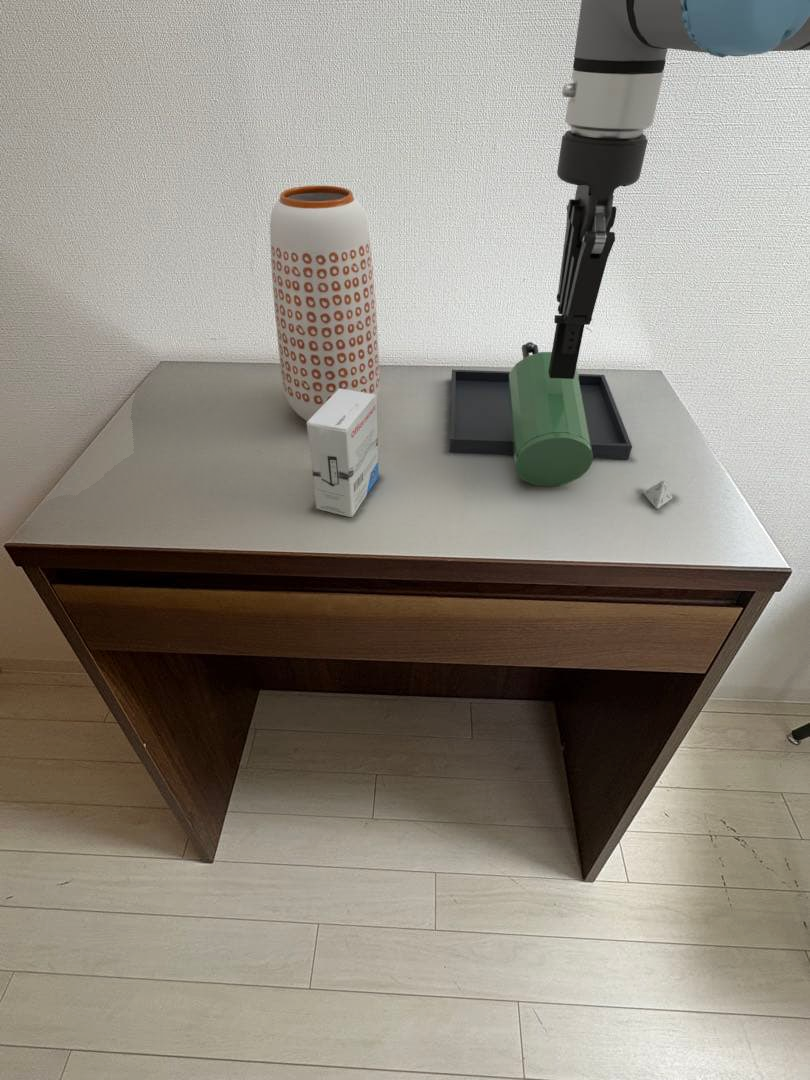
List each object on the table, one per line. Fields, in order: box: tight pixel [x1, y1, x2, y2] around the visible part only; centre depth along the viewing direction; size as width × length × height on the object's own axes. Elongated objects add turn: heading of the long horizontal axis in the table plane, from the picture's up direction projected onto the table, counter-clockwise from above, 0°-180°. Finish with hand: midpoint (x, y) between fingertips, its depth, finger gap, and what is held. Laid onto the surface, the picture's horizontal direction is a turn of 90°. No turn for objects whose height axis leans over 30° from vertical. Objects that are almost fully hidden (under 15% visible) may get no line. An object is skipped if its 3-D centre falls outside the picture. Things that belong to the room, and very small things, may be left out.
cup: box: [507, 351, 594, 487], centre depth 75 cm, size 9×9×14 cm
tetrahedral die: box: [642, 480, 673, 510], centre depth 72 cm, size 4×3×3 cm
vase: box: [269, 185, 381, 422], centre depth 79 cm, size 13×13×28 cm
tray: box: [449, 369, 633, 460], centre depth 88 cm, size 23×20×2 cm
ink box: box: [306, 388, 379, 518], centre depth 70 cm, size 9×5×12 cm, turn 160°
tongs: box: [521, 341, 540, 360], centre depth 82 cm, size 2×11×21 cm
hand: (561, 375), depth 71 cm, fingers closed
